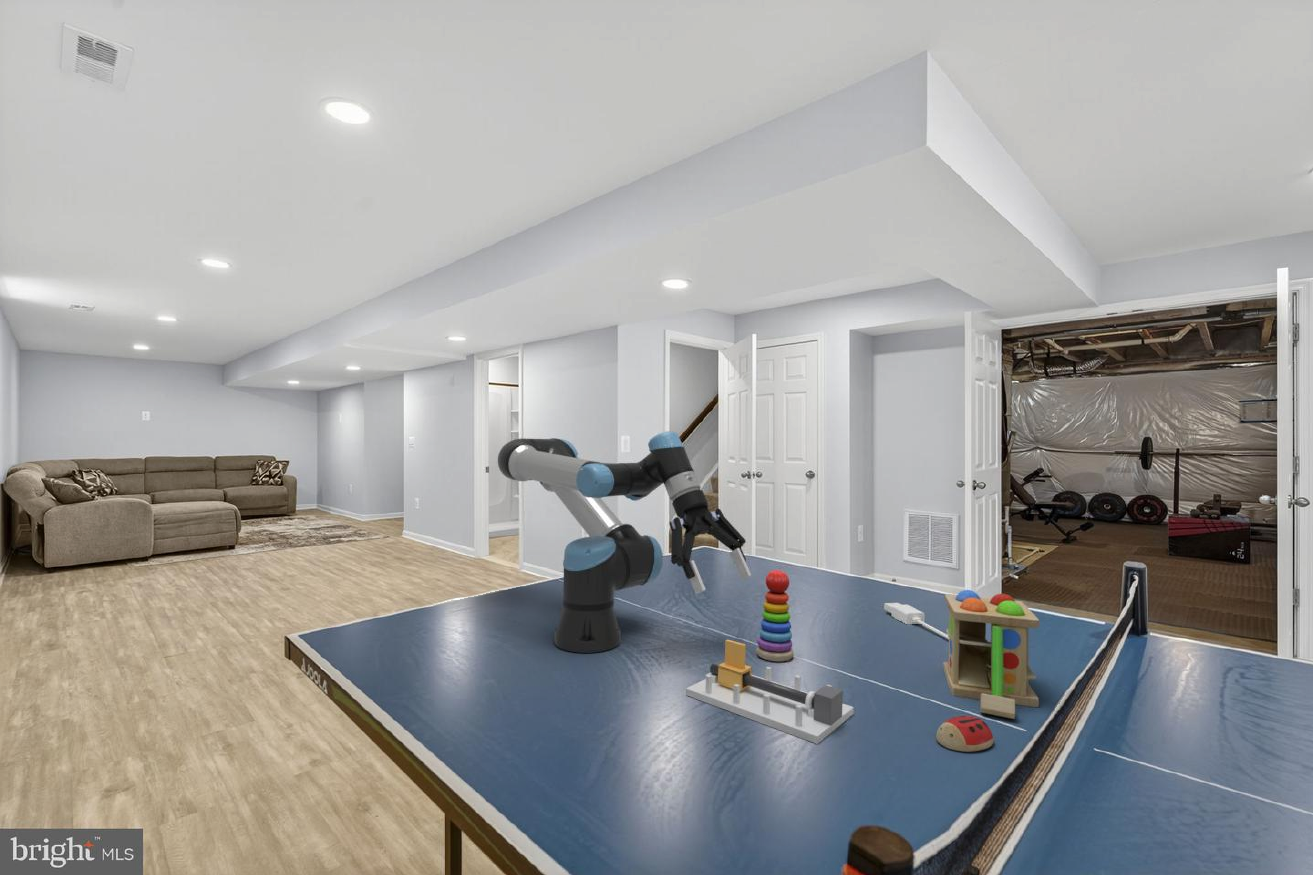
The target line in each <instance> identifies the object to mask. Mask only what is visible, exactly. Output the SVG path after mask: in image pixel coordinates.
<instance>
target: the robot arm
mask: <svg viewBox="0 0 1313 875" xmlns="http://www.w3.org/2000/svg"><path fill="white" fill-rule="evenodd" d="M647 446H648V449H649V452H650V453H649V454H648V455H646V456H645V457H644V458H642V459H641V460H640V461H638V462H620V463H610V462H609V463H607V462H599V461H594V460H590V459H582V458H579V457H578V454H579V452H578V450H577V449H576V447H575V446H574V444H572V443H571V442H570V441H569V440H566V439H563V438H562V439H561V438H555V437H554V438H553V437H552V438H524V437H523V438H515V439H513V440H510V441H508V442H507V443H506V444H504V445H503V446H502V447H501V449H500V450H499V452H498V454H497V455H498V456H497V466H498V468H499V471H500V473H501V474H502V475H504V477H505V478H507V479H510V480H512V481H513V480H514V481H518V482H527V481H536V482H539V483H540V485H541V487H542V488H544V490H546V491H547V492H551V493H552V492H553V493H555V495H556V496H557V497H558V498H559V500H560V501H561V503H562V504H563V505H564V506H565V508H566V509H567V510H568V511H569V513H570V514H571V515H572V516H573V518H574V519H575V520H576V521H577V523H579V525H580V527H582V529H583V530H584V531H585V533H586V534H587V535H588V536H586V537H581V538H577V539H574V540H572V541H570V542H568V544H567V545H566V546H565V548H564V556H563V557H564V558H563V562H562V566H563V586H562V587H563V588H562V589H563V590H562V591H563V594H562V595H563V596H562V597H563V598H562V611H561V613H560V618H559V621H558V625H557V627H556V628H555V631H554V645H555V646H556V647H557V648H559V649H561V650H564V651H566V652H573V653H579V654H580V653H581V654H585V653H587V654H589V653H590V654H591V653H601V652H605V651H610V650H612V649H614V648H616V647H618V646H619V645H621V641H622V631H621V628H620V626H619V621H618V619H617V614H616V611H615V604H614V603H615V592H616V591H620V590H625V589H630V588H634V587H638V586H641V587H642V586H645V585H647V584H649V583H653V582H654V581H655V580H656V579H657V578H658V577H659V575H660V574H661V571H662V568H663V564H664V562H663V561H664V560H663V556H664V553H663V550H662V547H661V544H660V543H659V541H658V540H657V538H655V537H653V536H652V535H648V534H647V535H642V534H640V533H639V531H637V529H636V528H635V527H634V526H633V525H632V524H629V523H622V521H621V520H620V519H619V517H617V515H616V514H615V513H614V512H613V511H612V510H611V509H610V507H609V506H608V505H607V503H605V500H603V499H602V498H607V497H617V496H624V497H625V498H626V499H629V500H631V501H633V502H635V501H640V500H642V499H644V498H646V497H648V496H649V495H650V494H651V493H652V492H653V491H655V490H656V489H658V488H659V487H661V485H664V487H665V490H666V492H667V495H668V498H669V500H670V501H671V502H672V503H671V504H672V508H673V509H674V512H675V515H676V517H674V518H673V519H672V520H670V521H669V522H668V523H669V527H670V530H671V546H670V547H671V549H670V550H671V554H670V556H671V557H670V562H671V564H673V565H676V564H677V566H678V567H682V569H683V572H684V575H685V577H686V579H687V580H689V581H690V584H691V586H692V589H693V591H694V593H695V595H700V594H701V593H703V592H704V591H706V590H707V589H706V586H705V585H704V583H703V582H704V581H703V579H702V577H701V574H700V572H699V570H698V567H697V565H696V563H695V560H691V557H692V551H693V547H694V542H695V539H696V537H698V536H699V535H706V534H707V535H710V536H712V537H713V538H715V539H716V540H718V542H720V543H721V544H723V545H724V546H725V547H727V549H729V550H730V552H729V555H730V557H731V559H732V561H733V564H734V566H735V569H736V571H737V573H738V575H739V578H740V580H741V581H743V580H746V579H748V578H749V577H751V576H752V574H751V571H750V569H749V567H748V564H747V563H746V562H747V559H746V556H745V554H744V552H743V550H742V547H744V545H745V544H746V542H747V541H746V539H745V538H744V536H743V535H741V533H740V532H739V531H738V530H737V529H736V528H735V527H734V525H733V524H731V522H729V519H727V518H726V517H725V515H724V514H723V512H722V510H721V509H720V508H717V509H714V511H710V510H709V502H708V500H707V497H706V494H705V493H704V491H703V489H702V490H701V487H702V486H701V484H700V481H699V480H698V477H697V475H696V473H695V470H694V468H693V466H692V464H691V462H690V459H689V457H688V453H687V452H686V448H685V446H684V445H683V442H682V441H681V438H680V437H679V434H678V433H676V432H675V431H664V432H660V433H657V434H656V435H654V436H653V437H651V439H649V442H648V444H647ZM683 528H684V529H685V531H684V534H683ZM683 538H684V540H683Z"/></svg>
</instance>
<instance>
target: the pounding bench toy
mask: <svg viewBox="0 0 1313 875" xmlns="http://www.w3.org/2000/svg"><path fill="white" fill-rule="evenodd" d="M944 599H945V601H944V602H945V604H946V607H947V609H948V610H949V611H948V617H949V618H948V628H946V631H945V633H946V634H947V635H948V638H949V639H948V662H947V661H942V662H943V667H942V669H943V672H944V675H945V678H946V681H947V684H948V687H949V690H950V693H951V695H952V696H954V697H960V698H965V697H966V699H974V700H980V706H979V707H980V712H981V713H982V714H988V715H993V716H997V717H1000V718H1001V717H1002V718H1007V719H1012V720H1015V718H1016V705H1017V706H1024V707H1031V708H1032V707H1033V708H1039V705H1040V704H1039V703H1040V700H1039V697H1038V695H1037V694H1036V693H1035V691H1034V690H1033V688H1032V686H1031V685H1030V684H1029V680H1037V676H1036V674H1035V673H1034V671H1033V670H1032V668H1031V667H1030V666H1029V663H1030V662H1029V658H1030V657H1029V655H1030V654H1029V653H1030V652H1029V647H1030V646H1029V635H1030V628H1031V629H1039V628H1040V620H1039V618H1038V617H1037V616H1036V615H1035V613H1033V612H1032V611H1031V609H1030V608H1028V606H1027V605H1026V604H1025V603H1024V602H1023V601H1020V600H1015V599H1014V598H1013V597H1012V596H1010V595H1009V594H1006V593H997V594H995V595H994V596H992V597H991V598H990V597H982V596H981V597H980V596H979V595H978V593H977V592H975V591H973V590H971V589H964V590H961V591H959V592H958V593H957V594H951V593H945V594H944ZM987 624H990V632H991V634H990V635H991V640H990V641H988V640H987V639H986V633H987V632H986V631H987Z"/></svg>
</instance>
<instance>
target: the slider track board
mask: <svg viewBox="0 0 1313 875" xmlns="http://www.w3.org/2000/svg"><path fill="white" fill-rule="evenodd" d="M718 665H719V664H716V663H712V664H711V666H710V667H709V672H708V673H706V674H705V678H704V679H702V680H700V681H698V682H696V683H694V684H692V685H690V686H688V687H686V688H685V696H688V697H690V698H693V699H696V700H698V701H701V702H703V703H706V704H709V705H712V706H714V707H717V708H720V709H722V710H725V711H727V712H730V713H733V714H736V715H739V716H741V717H744V718H747V719H749V720H752V721H755V722H757V723H760V724H762V725H765V726H768V727H771V728H773V729H776V730H779V731H782V732H783V733H786V734H790V735H792V736H794V737H798V738H800V739H802V740H805V741H808V742H811V743H814V744H817V745H818V744H819V743H821V741H823V740H824V739H826V737H827V736H829V735H830V734H831V733H833V732H834V731H835V730H836V729H838V727H840V726H841V725H842V724H843V723H844V722H846V721H848V719H849V718H851V717H852V716H853V715H854V710H855V709H854V708H855V707H854V706H851V705H849V704H847V703H846V704H845V703H843V702H844V701H843V694H844V693H843V692H844V691H843V689H839V688H837V687H833V686H832V685H830V684H826V685H824V686H822V687H821V688H819V690H817V691H812V690H809V691H808V692H807V691H803V690H801V686H802V685H801V682H802V680H801V679H802V678H801V675H797V674H796V675H795V676H794V683H793V684H794V686H793V687H791V686H788V685H785V684H782V683H779V682H776V681H773V680H772V678H773V677H772V675H773V673H772V669H773V668H772V667H770V666H767V667H765V678H763V677H760V676H757V675H755V674H751V675H748V674H745V673H744V674H743V676H742V684H745V685H748V686H750V687H748V688H746V689H744V690H743V691H741V692H740V685H738V684H735V685H734V688H733V689H732V688H729V687H726V686H723V685H720V684H718ZM850 716H851V717H850Z"/></svg>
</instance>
